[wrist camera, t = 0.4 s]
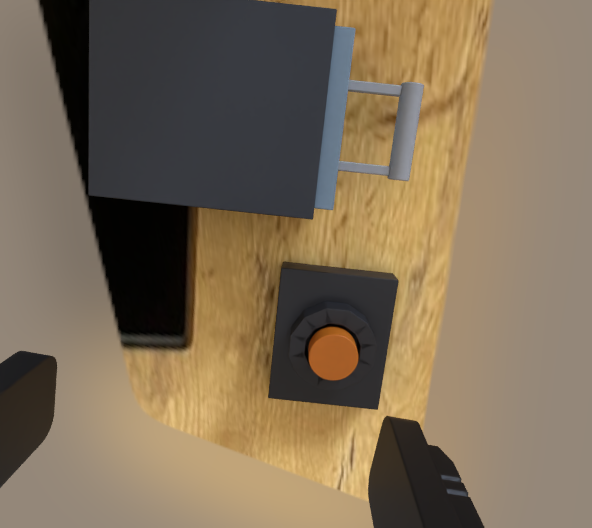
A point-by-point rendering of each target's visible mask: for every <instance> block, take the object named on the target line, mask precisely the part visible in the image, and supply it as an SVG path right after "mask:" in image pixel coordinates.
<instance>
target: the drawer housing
mask: <svg viewBox="0 0 592 528" xmlns="http://www.w3.org/2000/svg"><path fill="white" fill-rule="evenodd" d="M336 12H337V9H330V8H321V7H311V6H302V5H293V4H284V3H275V2H265V1H256V0H89V195H90V196H100V197H109V198H118V199H127V200H137V201H146V202H155V203H164V204H174V205H183V206H192V207H202V208H211V209H220V210H229V211H239V212H248V213H257V214H266V215H276V216H285V217H294V218H304V219H313V214H314V205H315V197H316V188H317V179H318V170H319V161H320V153H321V144H322V135H323V126H324V118H325V109H326V100H327V91H328V82H329V74H330V65H331V56H332V47H333V39H334V30H335V21H336Z"/></svg>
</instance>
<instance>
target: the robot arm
mask: <svg viewBox="0 0 592 528" xmlns="http://www.w3.org/2000/svg"><path fill="white" fill-rule="evenodd" d="M56 373H57V362H56V359H55V358H54V357H53V356H48V355H43V354H37V353H31V352H26V351H19V352H17V353H15V354H14V355H12V356H11V357H9V358H8V359H6V360H5V361H3V362H2V363H1V364H0V488H1V486H2V485H3V484H4V483H5V482H6V481H7V480H8V479H9V478H10V477H11V476H12V474H13V473H14V472H15V471H16V470H17V469H18V468H19V467H20V466H21V464H23V463H24V462H25V461H26V459H27V458H28V457H29V456H30V455H31V454H32V453H33V452H34V451H35V450H36V448H38V446H39V445H40V444H41V443H42V442H43V441H44V439H45V438H46V436H47V434H48V432H49V430H50V428H51V425H52V422H53V417H54V405H55V390H56ZM368 496H369V503H370V508H371V514H372V520H373V525H374V528H484V526H483V524H482V522H481V519H480V517H479V515H478V513H477V511H476V509H475V507H474V505H473V503H472V501H471V499H470V497H468V492H467V490H466V488H465V486H464V484H463V483H462V482H461V478H460V475H459V473H458V471H457V469H456V467H455V465H454V463H453V462H452V461H451V460H450V459H449V457H447V455H445V454H444V452H443V451H442V450H441V449H440V448H439V447H438V446H432V445H428V444H427V442H426V439H425V437H424V435H423V432H422V430H421V427H420V425H419V423H418V422H417V421H413V420H407V419H401V418H396V417H390V416H386V417H385V418H384V420H383V423H382V426H381V430H380V434H379V438H378V442H377V446H376V450H375V454H374V458H373V462H372V466H371V470H370V475H369V485H368Z"/></svg>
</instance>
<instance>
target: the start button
mask: <svg viewBox="0 0 592 528" xmlns="http://www.w3.org/2000/svg"><path fill="white" fill-rule="evenodd" d="M308 352H309V364H310V366H311V368H312V370H313V371H314V372H315V373H316V374H317V375H318V376H319V377H321V378H323V379H326V380H333V381H334V380H341V379H343V378H346V377H347V376H349V375H350V374H351V373H352V372H353V371H354V370H355V368H356V366H357V363H358V351H357V347H356V343H355V340H354V338H353V337H352V335H351V334H350V333H349V332H348V331H346V330H345V329H343V328H340V327H336V326H329V327H325V328H322V329H320V330H319V331H317V332H316V333H315V334H314V335H313V336H312V338H311V340H310V342H309V349H308Z"/></svg>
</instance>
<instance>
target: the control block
mask: <svg viewBox="0 0 592 528" xmlns="http://www.w3.org/2000/svg"><path fill="white" fill-rule="evenodd" d="M397 287H398V279H397V278H396V277H395V275H394V274H393V273H383V272H374V271H365V270H355V269H346V268H337V267H328V266H318V265H309V264H300V263H290V262H283V263H282V267H281V276H280V286H279V296H278V306H277V315H276V325H275V335H274V345H273V355H272V365H271V375H270V385H269V395H268V398H274V399H283V400H292V401H302V402H311V403H320V404H330V405H339V406H348V407H358V408H367V409H376V410H377V409H378V405H379V399H380V392H381V386H382V380H383V374H384V368H385V361H386V355H387V349H388V343H389V336H390V330H391V324H392V318H393V312H394V305H395V299H396V293H397ZM329 326H336V327H340V328H343V329H345V330H346V331H348V332H349V333H350V334H351V335H352V337H353V338H354V340H355V343H356V347H357V351H358V363H357V366H356V368H355V370H354V371H353V372H352V373H351V374H350V375H349V376H347V377H346V378H343V379H341V380H334V381H333V380H326V379H323V378H321V377H319V376H318V375H317V374H316V373H315V372H314V371H313V370H312V368H311V366H310V364H309V352H308V349H309V342H310V340H311V338H312V336H313V335H314V334H315V333H316V332H317V331H319V330H320V329H322V328H325V327H329Z"/></svg>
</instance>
